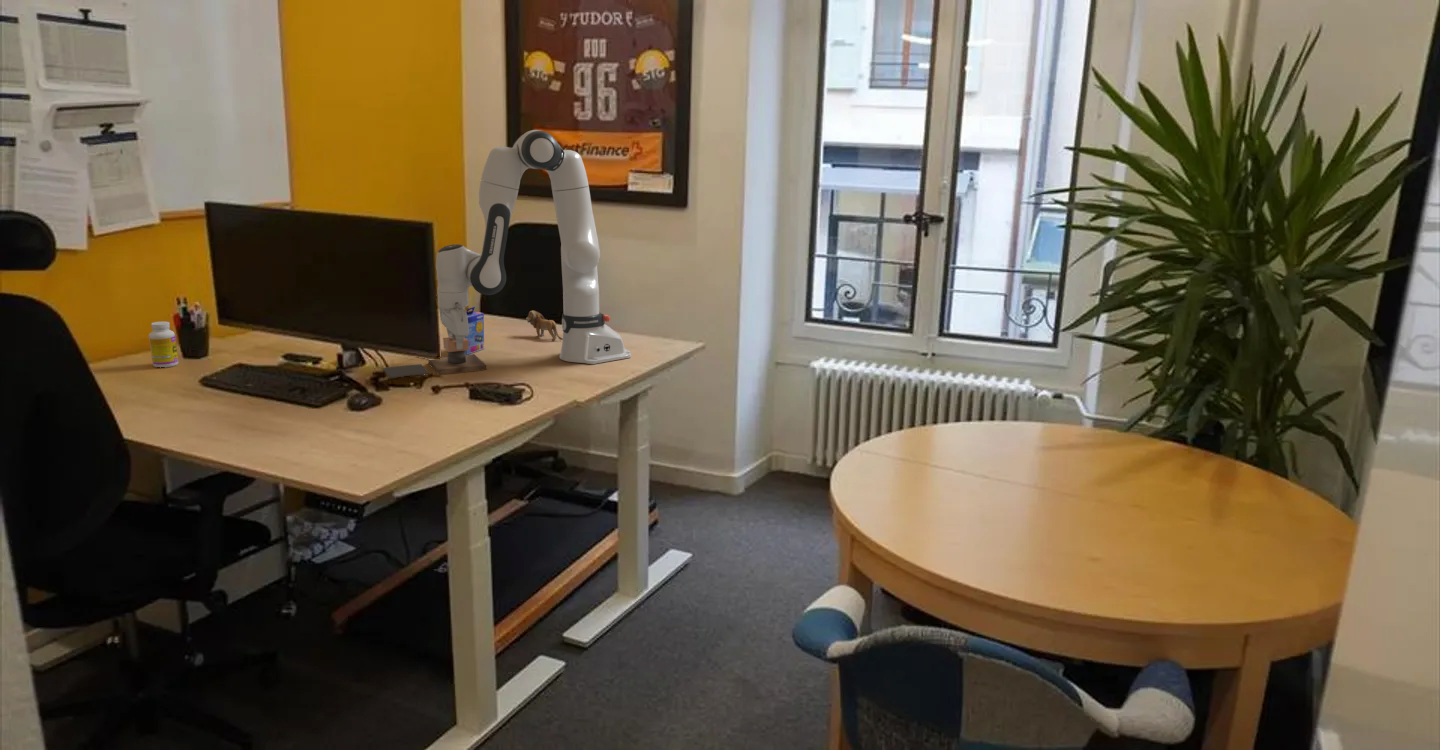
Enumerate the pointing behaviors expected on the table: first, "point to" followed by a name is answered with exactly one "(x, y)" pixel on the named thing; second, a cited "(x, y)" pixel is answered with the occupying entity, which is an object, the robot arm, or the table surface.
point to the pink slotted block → (451, 346)
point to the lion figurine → (542, 324)
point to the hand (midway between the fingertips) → (455, 345)
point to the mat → (405, 371)
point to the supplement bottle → (163, 345)
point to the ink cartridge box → (475, 331)
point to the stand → (457, 362)
